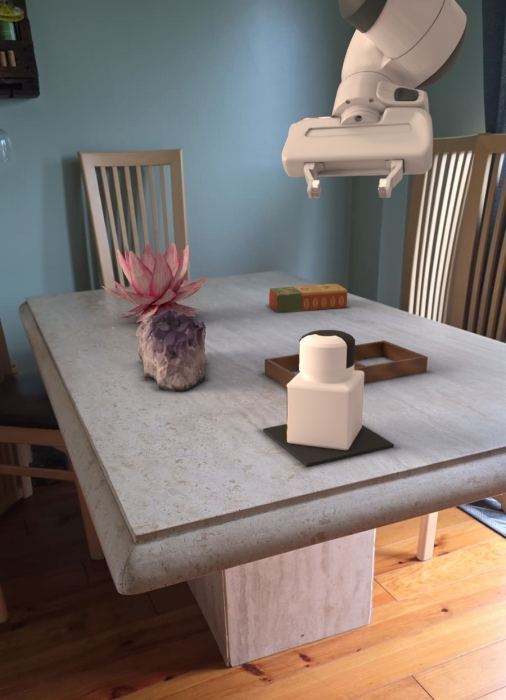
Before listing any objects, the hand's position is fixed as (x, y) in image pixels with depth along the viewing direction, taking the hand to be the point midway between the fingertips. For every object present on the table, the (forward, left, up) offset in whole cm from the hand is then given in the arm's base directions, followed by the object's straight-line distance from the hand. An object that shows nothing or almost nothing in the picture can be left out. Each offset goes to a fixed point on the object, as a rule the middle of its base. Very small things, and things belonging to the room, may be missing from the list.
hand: (347, 195), depth 82 cm
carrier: (-2, -2, -25) cm, 25 cm away
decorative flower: (+13, -53, -26) cm, 61 cm away
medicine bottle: (+14, +19, -25) cm, 34 cm away
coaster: (+14, +19, -25) cm, 34 cm away
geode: (+21, -15, -26) cm, 36 cm away
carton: (-20, -48, -26) cm, 59 cm away
